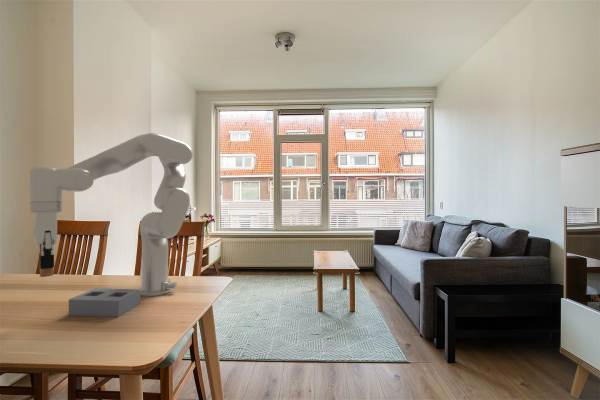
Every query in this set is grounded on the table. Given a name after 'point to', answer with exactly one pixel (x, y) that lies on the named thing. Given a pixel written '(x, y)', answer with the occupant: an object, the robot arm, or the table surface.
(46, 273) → the dowel
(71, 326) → the table surface
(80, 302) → the bore block
